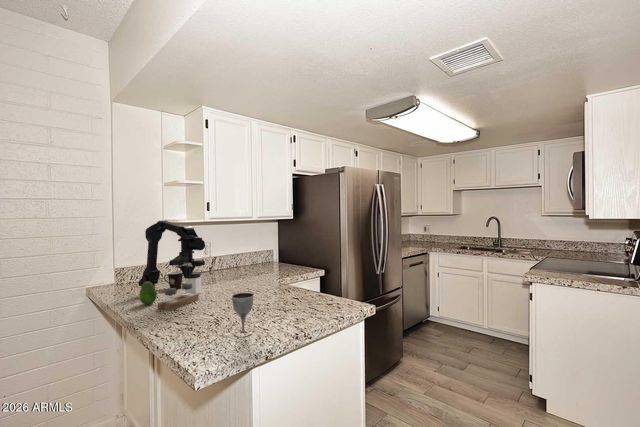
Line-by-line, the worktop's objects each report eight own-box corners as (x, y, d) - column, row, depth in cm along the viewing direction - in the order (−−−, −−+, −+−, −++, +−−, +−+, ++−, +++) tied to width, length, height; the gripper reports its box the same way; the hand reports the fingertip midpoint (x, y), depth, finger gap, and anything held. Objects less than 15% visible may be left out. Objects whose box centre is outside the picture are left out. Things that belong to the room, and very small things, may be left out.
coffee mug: (185, 288, 194) (185, 272, 194) (173, 291, 187) (173, 274, 187) (175, 285, 200) (175, 270, 200) (162, 288, 193) (162, 272, 193)
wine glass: (234, 330, 122) (234, 292, 122) (254, 329, 123) (254, 292, 123) (230, 338, 114) (230, 298, 114) (252, 337, 115) (251, 297, 115)
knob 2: (179, 290, 163) (179, 284, 163) (186, 288, 168) (186, 282, 168) (187, 291, 162) (187, 285, 162) (194, 289, 166) (194, 283, 166)
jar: (203, 293, 180) (202, 273, 180) (188, 295, 175) (188, 274, 175) (198, 290, 187) (198, 270, 187) (184, 292, 182) (183, 272, 182)
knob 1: (162, 296, 151) (162, 290, 151) (170, 294, 156) (170, 287, 156) (170, 297, 150) (170, 290, 150) (178, 294, 155) (178, 288, 155)
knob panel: (157, 309, 150) (157, 302, 150) (186, 298, 170) (186, 292, 170) (171, 310, 148) (171, 303, 148) (198, 299, 167) (198, 293, 167)
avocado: (136, 305, 157) (136, 282, 157) (150, 301, 164) (150, 279, 164) (145, 307, 154) (145, 283, 154) (160, 303, 160) (160, 280, 161)
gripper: (161, 251, 160) (161, 281, 159) (191, 251, 154) (191, 282, 154) (176, 248, 170) (176, 276, 170) (205, 249, 165) (205, 278, 165)
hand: (187, 278), depth 165 cm, fingers closed
